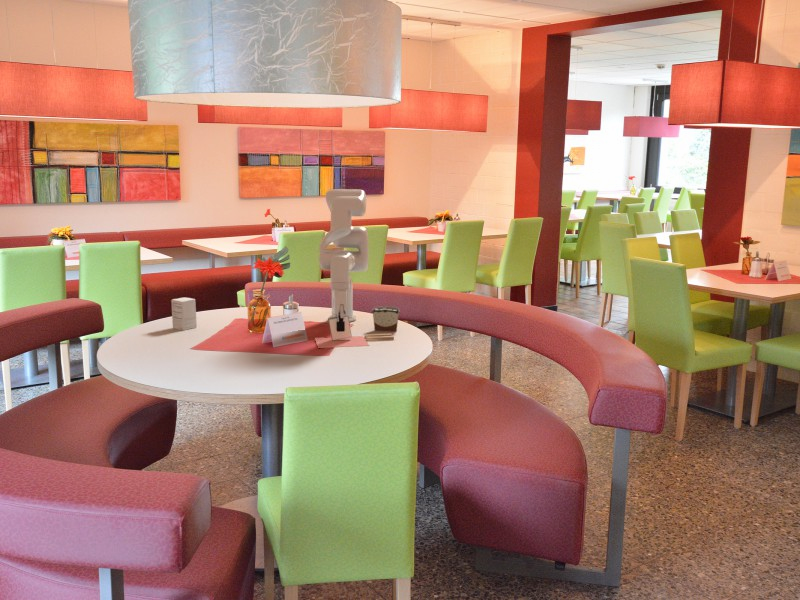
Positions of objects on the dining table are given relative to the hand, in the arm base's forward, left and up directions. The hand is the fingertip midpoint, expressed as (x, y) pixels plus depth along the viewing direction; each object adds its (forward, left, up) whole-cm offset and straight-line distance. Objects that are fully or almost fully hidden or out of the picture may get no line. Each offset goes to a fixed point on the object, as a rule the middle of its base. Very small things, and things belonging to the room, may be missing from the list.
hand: (340, 330), depth 310 cm
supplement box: (-34, -63, -5) cm, 72 cm away
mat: (+3, 0, -4) cm, 5 cm away
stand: (0, +16, -4) cm, 17 cm away
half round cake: (-16, +22, -5) cm, 28 cm away
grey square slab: (0, -4, 0) cm, 4 cm away
